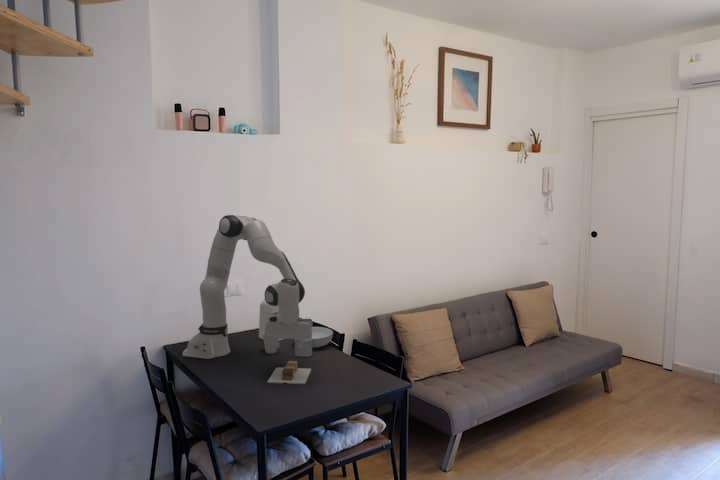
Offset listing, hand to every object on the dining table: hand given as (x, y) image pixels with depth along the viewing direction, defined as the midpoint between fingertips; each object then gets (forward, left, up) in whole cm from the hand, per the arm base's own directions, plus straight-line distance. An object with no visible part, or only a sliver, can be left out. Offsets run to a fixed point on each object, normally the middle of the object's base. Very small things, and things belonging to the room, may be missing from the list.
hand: (288, 348), depth 212 cm
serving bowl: (+4, +42, -13) cm, 45 cm away
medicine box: (+2, +26, -13) cm, 30 cm away
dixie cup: (-15, +30, -13) cm, 37 cm away
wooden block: (+1, 0, -12) cm, 12 cm away
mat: (+1, 0, -13) cm, 13 cm away
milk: (-19, +52, -13) cm, 57 cm away
